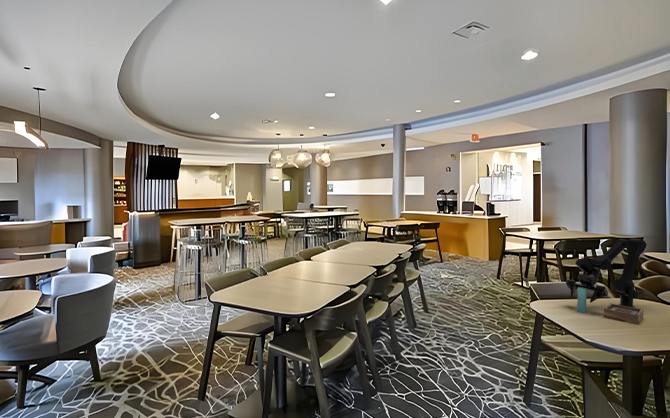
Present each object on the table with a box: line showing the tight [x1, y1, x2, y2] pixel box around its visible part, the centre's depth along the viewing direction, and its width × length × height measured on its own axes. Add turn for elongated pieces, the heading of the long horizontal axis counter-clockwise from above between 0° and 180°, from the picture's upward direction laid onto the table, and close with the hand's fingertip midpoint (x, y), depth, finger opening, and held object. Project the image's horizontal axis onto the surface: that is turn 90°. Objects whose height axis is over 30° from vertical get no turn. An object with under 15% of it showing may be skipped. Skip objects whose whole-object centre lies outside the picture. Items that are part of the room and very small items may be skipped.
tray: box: [603, 302, 644, 325], centre depth 180 cm, size 14×14×4 cm
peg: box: [576, 287, 588, 314], centre depth 190 cm, size 4×4×13 cm
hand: (580, 300), depth 189 cm, fingers open, 9 cm apart
